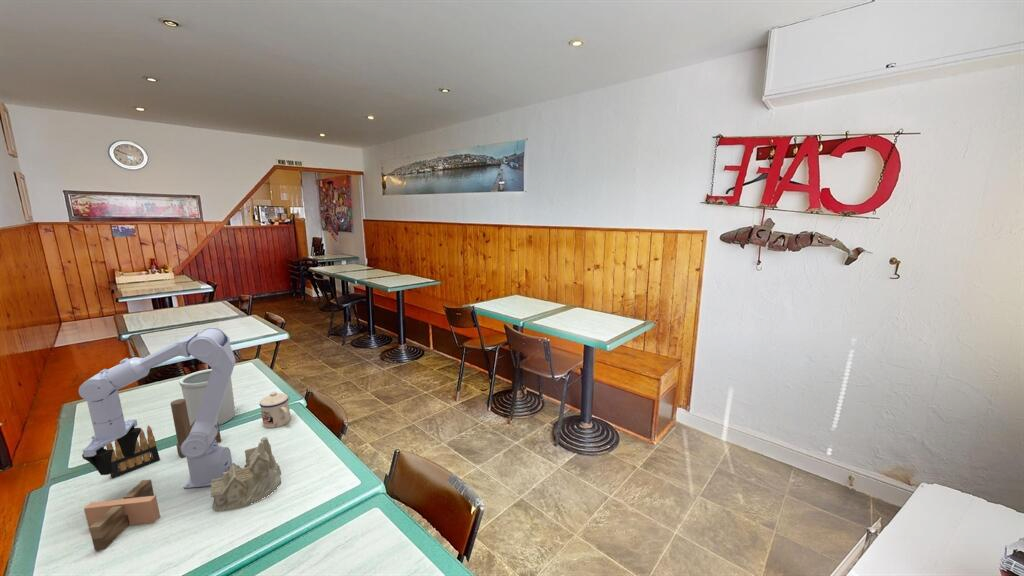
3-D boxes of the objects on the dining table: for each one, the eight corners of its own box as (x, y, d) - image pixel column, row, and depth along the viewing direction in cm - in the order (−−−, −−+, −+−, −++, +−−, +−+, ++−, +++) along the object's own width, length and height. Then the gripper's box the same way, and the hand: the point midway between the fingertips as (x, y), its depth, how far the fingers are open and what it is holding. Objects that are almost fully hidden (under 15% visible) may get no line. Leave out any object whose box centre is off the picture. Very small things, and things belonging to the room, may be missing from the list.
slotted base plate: (146, 500, 105) (142, 480, 104) (154, 499, 105) (150, 479, 104) (94, 550, 89) (89, 527, 88) (104, 548, 90) (99, 526, 88)
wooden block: (221, 441, 131) (213, 391, 128) (181, 458, 123) (171, 405, 119) (217, 438, 133) (209, 389, 130) (177, 454, 125) (167, 402, 121)
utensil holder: (198, 412, 150) (190, 370, 147) (243, 407, 154) (236, 365, 151) (179, 433, 136) (170, 386, 133) (228, 426, 141) (221, 380, 137)
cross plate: (160, 516, 99) (156, 495, 98) (154, 522, 97) (150, 501, 96) (96, 523, 97) (91, 502, 96) (89, 529, 95) (83, 508, 94)
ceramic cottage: (285, 463, 120) (275, 420, 116) (277, 500, 105) (266, 452, 101) (224, 479, 114) (212, 434, 110) (208, 521, 99) (192, 471, 96)
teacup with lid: (257, 424, 142) (253, 394, 139) (282, 413, 149) (278, 385, 147) (275, 433, 136) (271, 402, 133) (301, 421, 143) (297, 392, 141)
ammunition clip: (112, 479, 113) (103, 441, 111) (110, 476, 114) (102, 439, 112) (160, 460, 122) (153, 425, 119) (158, 458, 123) (151, 423, 120)
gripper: (112, 406, 108) (122, 450, 111) (63, 435, 94) (76, 484, 97) (141, 403, 110) (150, 447, 112) (97, 432, 95) (109, 481, 98)
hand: (118, 464), depth 105 cm, fingers open, 7 cm apart
